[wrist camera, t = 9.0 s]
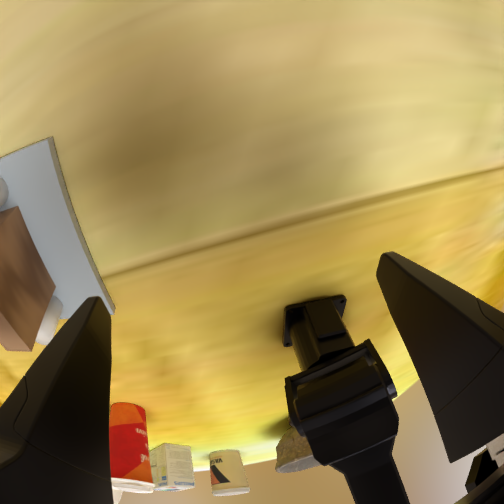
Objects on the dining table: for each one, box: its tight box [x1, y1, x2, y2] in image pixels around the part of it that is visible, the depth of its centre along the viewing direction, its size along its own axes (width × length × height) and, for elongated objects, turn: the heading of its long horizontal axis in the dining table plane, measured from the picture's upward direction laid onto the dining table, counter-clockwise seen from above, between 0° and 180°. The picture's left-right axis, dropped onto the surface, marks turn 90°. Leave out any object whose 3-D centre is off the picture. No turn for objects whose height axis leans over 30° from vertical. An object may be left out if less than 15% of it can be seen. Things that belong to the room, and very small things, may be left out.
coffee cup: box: [209, 450, 250, 496], centre depth 54 cm, size 9×9×12 cm
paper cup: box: [109, 403, 155, 493], centre depth 31 cm, size 8×8×14 cm
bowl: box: [275, 426, 321, 473], centre depth 47 cm, size 21×21×10 cm
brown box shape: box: [0, 206, 56, 352], centre depth 15 cm, size 8×3×7 cm, turn 2°
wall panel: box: [0, 137, 115, 345], centre depth 16 cm, size 16×11×5 cm
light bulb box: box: [149, 443, 195, 491], centre depth 48 cm, size 11×7×11 cm, turn 143°
